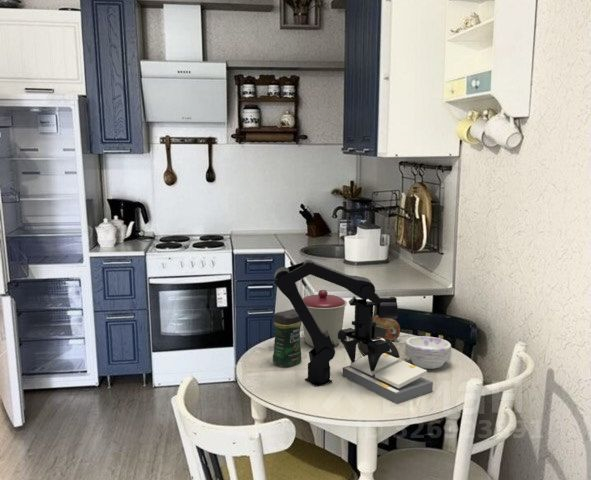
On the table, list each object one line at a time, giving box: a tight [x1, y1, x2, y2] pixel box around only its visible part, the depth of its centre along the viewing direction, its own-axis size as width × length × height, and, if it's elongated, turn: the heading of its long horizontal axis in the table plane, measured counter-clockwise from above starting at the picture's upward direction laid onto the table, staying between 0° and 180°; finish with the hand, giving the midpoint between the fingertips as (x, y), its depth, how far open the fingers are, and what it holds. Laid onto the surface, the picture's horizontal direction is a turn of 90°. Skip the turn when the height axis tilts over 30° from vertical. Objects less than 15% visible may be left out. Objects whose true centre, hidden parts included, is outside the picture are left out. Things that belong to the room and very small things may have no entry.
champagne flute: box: [274, 286, 293, 315], centre depth 203 cm, size 7×7×24 cm
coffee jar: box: [272, 308, 303, 368], centre depth 189 cm, size 10×8×19 cm
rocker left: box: [350, 353, 401, 376], centre depth 177 cm, size 12×10×1 cm
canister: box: [302, 289, 348, 348], centre depth 208 cm, size 18×18×21 cm
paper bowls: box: [404, 335, 452, 370], centre depth 189 cm, size 15×15×8 cm
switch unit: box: [342, 364, 434, 405], centre depth 172 cm, size 15×24×4 cm, turn 35°
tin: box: [373, 315, 401, 342], centre depth 217 cm, size 15×3×8 cm, turn 42°
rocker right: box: [375, 360, 428, 388], centre depth 167 cm, size 12×10×1 cm
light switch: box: [357, 338, 400, 359], centre depth 204 cm, size 20×3×14 cm
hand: (362, 366), depth 174 cm, fingers open, 9 cm apart
